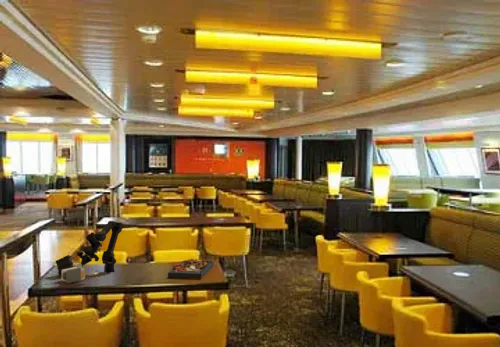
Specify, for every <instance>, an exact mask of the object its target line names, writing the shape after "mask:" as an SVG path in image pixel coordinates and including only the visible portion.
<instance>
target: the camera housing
mask: <svg viewBox="0 0 500 347" xmlns="http://www.w3.org/2000/svg"><path fill="white" fill-rule="evenodd" d="M76 268H77V266H73V268H68V269H63V270H61V271H62V276H61V281H62V282H66V271H67V270H71V269H76ZM85 279H86V268H83V267H82V268H81V280H80V281H83V280H85Z"/></svg>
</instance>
